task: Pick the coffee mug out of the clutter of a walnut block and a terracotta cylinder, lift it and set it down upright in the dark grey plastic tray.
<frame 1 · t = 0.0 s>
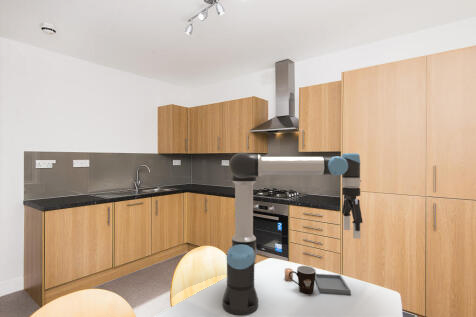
hand: (351, 233, 112), 28 cm above the table, fingers open, 13 cm apart
terracotta cylinder: (288, 279, 127), on the table
walnut block: (306, 280, 127), on the table
coffee mug: (303, 290, 116), on the table
tray: (330, 285, 120), on the table
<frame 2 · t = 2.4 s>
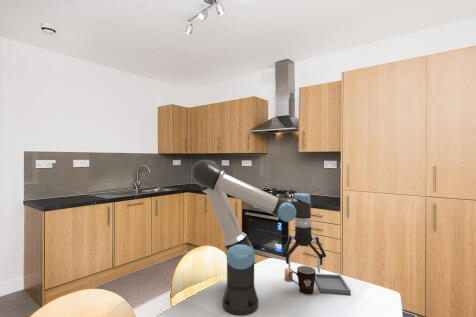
hand: (304, 271, 116), 9 cm above the table, fingers open, 13 cm apart
coffee mug: (303, 290, 116), on the table, touching gripper
everything else where it was.
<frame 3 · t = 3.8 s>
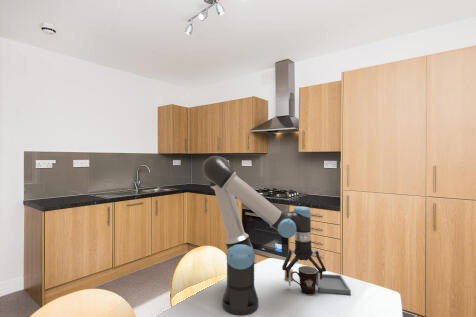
hand: (304, 285, 116), 2 cm above the table, fingers open, 13 cm apart
nothing on the table moved.
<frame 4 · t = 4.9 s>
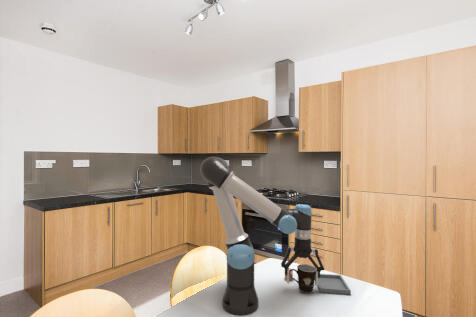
hand: (301, 283, 116), 3 cm above the table, fingers closed on coffee mug, 12 cm apart
coffee mug: (302, 288, 116), point 1 cm above the table, touching gripper
everything else where it was.
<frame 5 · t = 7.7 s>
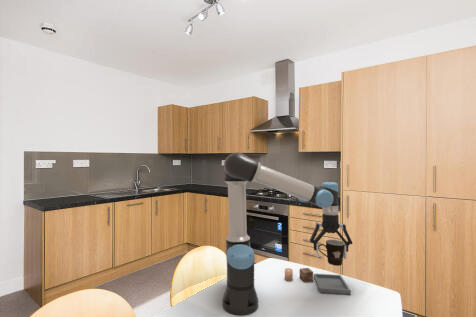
hand: (330, 257, 121), 14 cm above the table, fingers closed on coffee mug, 12 cm apart
coffee mug: (331, 262, 121), point 11 cm above the table, touching gripper
everything else where it was.
when the fingers open (3 cm above the table, at t = 10.6 s): coffee mug stays where it is, resting on tray.
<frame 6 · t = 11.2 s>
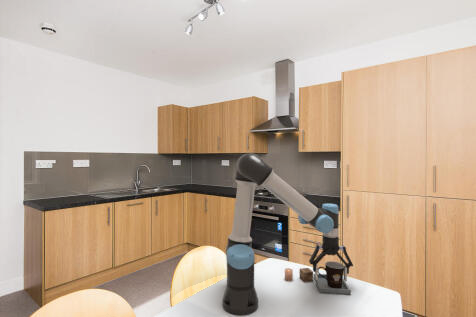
hand: (330, 279, 120), 3 cm above the table, fingers open, 13 cm apart
coffee mug: (331, 285, 120), resting on tray, touching gripper
everything else where it was.
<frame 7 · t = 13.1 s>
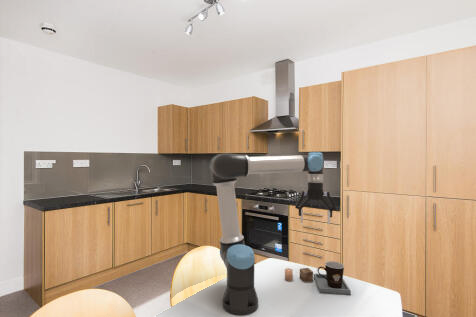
hand: (315, 223, 128), 29 cm above the table, fingers open, 13 cm apart
coffee mug: (331, 285, 120), resting on tray
everything else where it was.
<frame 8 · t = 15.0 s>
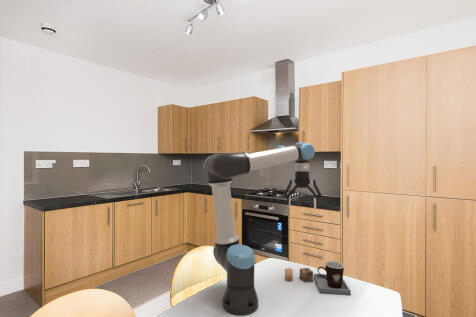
hand: (302, 209, 135), 35 cm above the table, fingers open, 13 cm apart
nothing on the table moved.
at the end: coffee mug inside the target area on the tray (0.2 cm from its centre), point 0.4 cm above the tray's base; coffee mug tilted 0°; the gripper is holding nothing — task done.
